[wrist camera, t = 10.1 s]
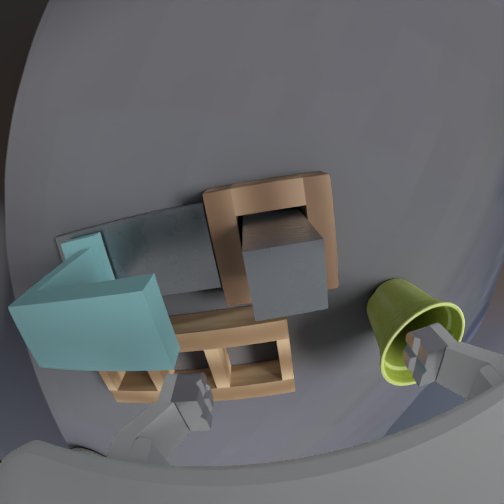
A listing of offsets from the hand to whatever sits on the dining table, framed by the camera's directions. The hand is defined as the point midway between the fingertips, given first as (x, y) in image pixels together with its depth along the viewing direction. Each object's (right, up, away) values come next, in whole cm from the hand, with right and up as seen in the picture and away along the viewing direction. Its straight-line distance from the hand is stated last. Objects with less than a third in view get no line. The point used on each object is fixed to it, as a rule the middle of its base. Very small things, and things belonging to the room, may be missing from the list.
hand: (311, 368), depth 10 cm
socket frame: (-9, +5, +16) cm, 19 cm away
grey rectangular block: (0, +6, +16) cm, 17 cm away
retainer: (-14, +3, +15) cm, 21 cm away
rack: (-9, -7, +20) cm, 23 cm away
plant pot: (+13, -1, +19) cm, 23 cm away
